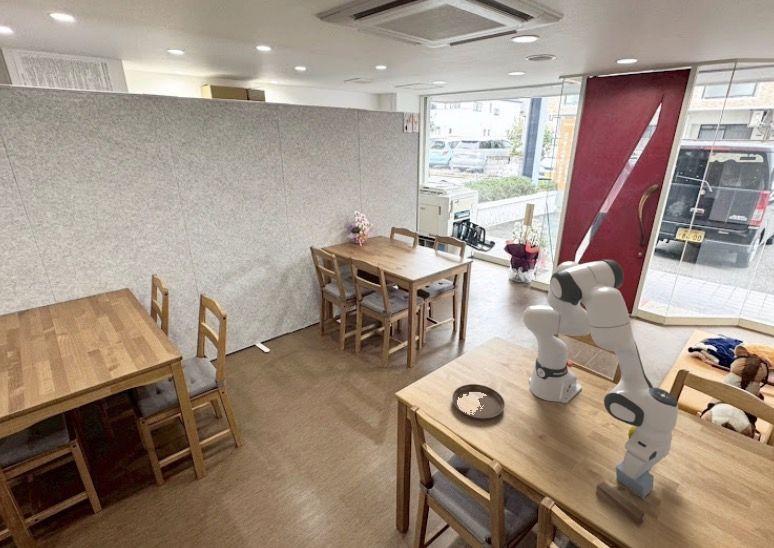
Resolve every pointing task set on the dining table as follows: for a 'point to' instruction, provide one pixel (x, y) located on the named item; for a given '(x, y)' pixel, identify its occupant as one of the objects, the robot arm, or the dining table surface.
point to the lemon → (631, 431)
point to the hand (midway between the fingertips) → (642, 475)
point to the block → (636, 481)
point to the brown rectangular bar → (620, 503)
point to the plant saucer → (481, 401)
